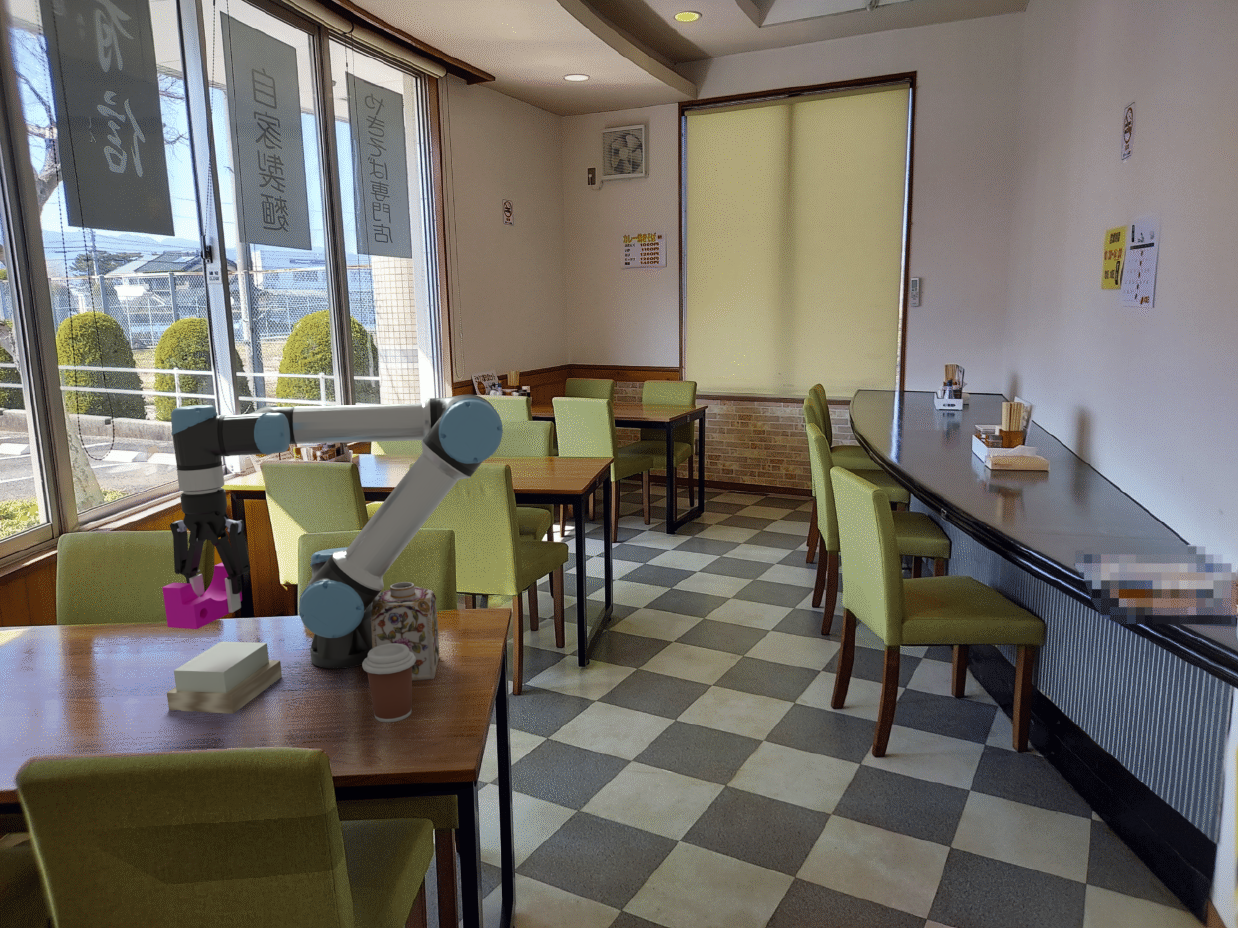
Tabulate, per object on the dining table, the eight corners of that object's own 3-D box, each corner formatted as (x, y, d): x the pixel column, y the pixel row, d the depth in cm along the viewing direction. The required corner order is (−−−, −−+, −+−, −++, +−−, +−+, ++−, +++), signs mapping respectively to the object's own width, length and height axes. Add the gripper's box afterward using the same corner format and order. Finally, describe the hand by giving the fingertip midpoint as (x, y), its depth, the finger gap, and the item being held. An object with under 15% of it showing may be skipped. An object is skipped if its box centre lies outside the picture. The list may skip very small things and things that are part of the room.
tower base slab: (282, 679, 168) (280, 660, 167) (233, 716, 153) (231, 695, 152) (223, 676, 170) (220, 658, 170) (169, 712, 155) (166, 692, 154)
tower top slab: (269, 661, 167) (267, 642, 166) (226, 692, 153) (223, 672, 152) (223, 660, 168) (220, 641, 168) (176, 690, 155) (173, 670, 154)
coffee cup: (393, 698, 157) (388, 637, 155) (430, 708, 152) (425, 645, 150) (355, 718, 149) (350, 654, 147) (393, 730, 144) (387, 664, 142)
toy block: (197, 629, 149) (191, 588, 148) (167, 627, 151) (162, 587, 149) (253, 601, 163) (248, 563, 162) (226, 599, 165) (221, 562, 164)
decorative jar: (374, 684, 163) (366, 596, 160) (383, 660, 175) (376, 577, 172) (436, 679, 165) (430, 591, 162) (441, 656, 176) (436, 574, 173)
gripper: (263, 485, 157) (276, 603, 161) (168, 485, 160) (183, 601, 164) (238, 494, 149) (253, 617, 153) (140, 494, 152) (157, 615, 156)
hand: (217, 609), depth 158 cm, fingers closed on toy block, 7 cm apart
